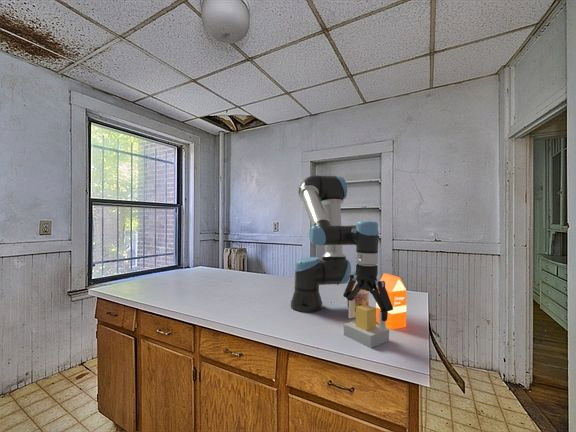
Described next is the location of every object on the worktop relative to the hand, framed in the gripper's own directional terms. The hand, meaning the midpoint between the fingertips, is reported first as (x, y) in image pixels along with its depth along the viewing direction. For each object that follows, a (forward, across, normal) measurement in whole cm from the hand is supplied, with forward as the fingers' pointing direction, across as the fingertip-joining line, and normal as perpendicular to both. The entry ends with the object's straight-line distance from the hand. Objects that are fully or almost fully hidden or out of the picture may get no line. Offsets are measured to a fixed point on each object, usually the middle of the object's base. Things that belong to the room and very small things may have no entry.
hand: (366, 323), depth 99 cm
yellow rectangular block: (+1, 0, 0) cm, 1 cm away
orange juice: (+6, -3, +19) cm, 20 cm away
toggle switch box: (+5, 0, 0) cm, 5 cm away
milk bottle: (+5, -16, +15) cm, 23 cm away
